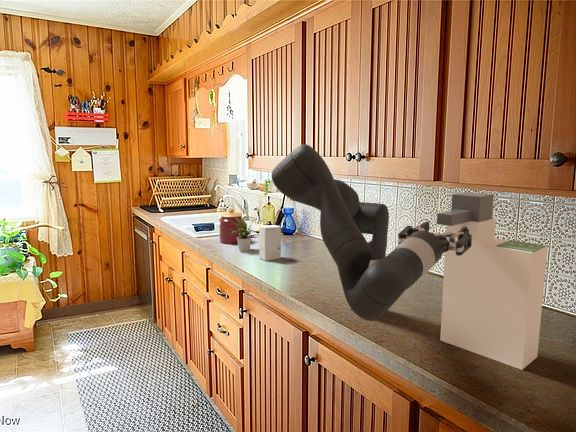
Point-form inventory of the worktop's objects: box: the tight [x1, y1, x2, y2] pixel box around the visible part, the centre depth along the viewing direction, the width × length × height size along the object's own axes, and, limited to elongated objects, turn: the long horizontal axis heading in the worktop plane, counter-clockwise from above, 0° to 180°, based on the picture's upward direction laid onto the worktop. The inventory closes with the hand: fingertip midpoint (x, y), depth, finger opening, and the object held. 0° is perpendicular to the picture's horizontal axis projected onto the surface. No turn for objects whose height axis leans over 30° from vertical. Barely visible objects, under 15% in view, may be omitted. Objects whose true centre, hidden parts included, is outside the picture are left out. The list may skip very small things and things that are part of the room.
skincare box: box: [258, 224, 282, 262], centre depth 194 cm, size 8×6×15 cm
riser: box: [439, 217, 548, 371], centre depth 105 cm, size 20×9×32 cm, turn 41°
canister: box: [218, 208, 245, 245], centre depth 228 cm, size 13×13×18 cm
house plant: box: [232, 217, 255, 252], centre depth 210 cm, size 14×14×16 cm
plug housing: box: [436, 191, 495, 226], centre depth 104 cm, size 7×16×6 cm, turn 131°
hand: (446, 228), depth 98 cm, fingers open, 8 cm apart
